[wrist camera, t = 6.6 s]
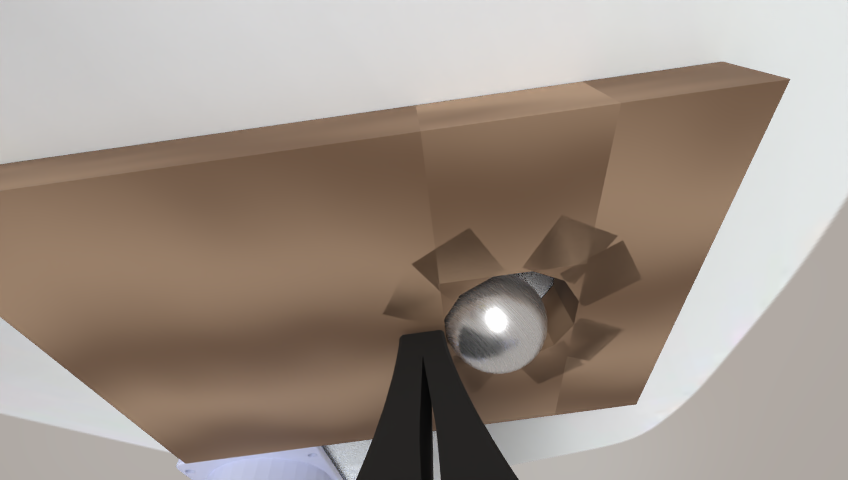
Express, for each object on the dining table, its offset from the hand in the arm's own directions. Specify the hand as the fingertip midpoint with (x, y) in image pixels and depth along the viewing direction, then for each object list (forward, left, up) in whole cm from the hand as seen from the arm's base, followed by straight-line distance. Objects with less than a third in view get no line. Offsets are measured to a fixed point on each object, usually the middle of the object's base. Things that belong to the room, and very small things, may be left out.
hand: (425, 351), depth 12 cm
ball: (0, -2, -1) cm, 3 cm away
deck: (0, +2, -3) cm, 3 cm away
